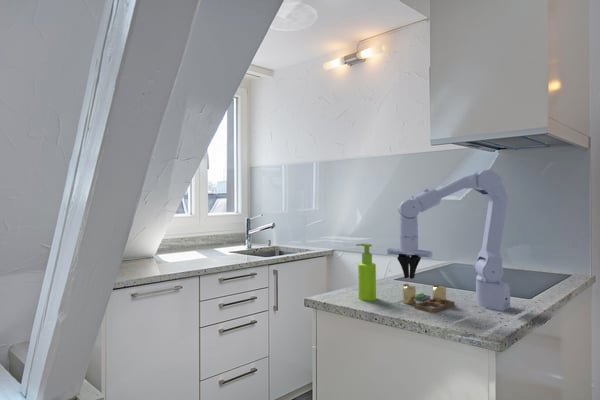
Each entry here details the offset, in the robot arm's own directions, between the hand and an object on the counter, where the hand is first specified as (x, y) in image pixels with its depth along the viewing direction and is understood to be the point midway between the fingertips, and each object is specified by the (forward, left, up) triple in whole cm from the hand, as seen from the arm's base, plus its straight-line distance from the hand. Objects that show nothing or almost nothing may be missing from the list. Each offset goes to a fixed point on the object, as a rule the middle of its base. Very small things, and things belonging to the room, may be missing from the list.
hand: (409, 278), depth 128 cm
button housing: (+1, -7, -9) cm, 12 cm away
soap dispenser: (+14, +5, -10) cm, 18 cm away
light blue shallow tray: (0, 0, -9) cm, 9 cm away
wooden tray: (-8, -2, -9) cm, 12 cm away
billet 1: (0, 0, -9) cm, 9 cm away
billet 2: (-8, -5, -9) cm, 13 cm away
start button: (+1, -7, -9) cm, 12 cm away
